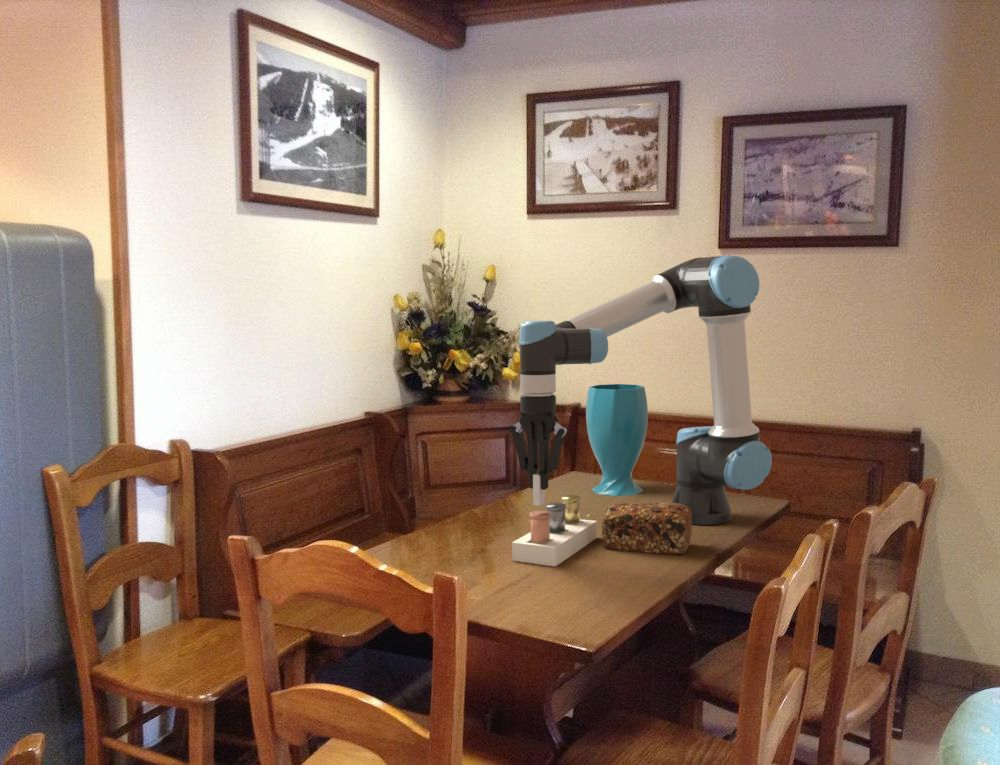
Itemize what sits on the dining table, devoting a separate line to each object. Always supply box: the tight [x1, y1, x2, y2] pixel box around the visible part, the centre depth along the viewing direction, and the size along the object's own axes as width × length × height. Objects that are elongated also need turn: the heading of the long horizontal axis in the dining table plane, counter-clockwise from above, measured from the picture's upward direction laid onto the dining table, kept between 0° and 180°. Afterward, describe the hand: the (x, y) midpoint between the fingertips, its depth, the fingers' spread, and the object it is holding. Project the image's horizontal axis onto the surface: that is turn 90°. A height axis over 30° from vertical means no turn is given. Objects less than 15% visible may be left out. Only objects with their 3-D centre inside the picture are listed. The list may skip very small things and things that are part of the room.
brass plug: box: [560, 494, 582, 524], centre depth 204 cm, size 4×4×6 cm
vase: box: [585, 383, 649, 497], centre depth 254 cm, size 17×17×30 cm
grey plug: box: [545, 502, 566, 533], centre depth 197 cm, size 4×4×6 cm
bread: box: [601, 502, 693, 555], centre depth 197 cm, size 19×11×10 cm, turn 68°
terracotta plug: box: [529, 510, 550, 543], centre depth 189 cm, size 4×4×6 cm
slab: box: [511, 518, 598, 567], centre depth 197 cm, size 10×24×4 cm, turn 153°
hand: (539, 503), depth 189 cm, fingers closed
